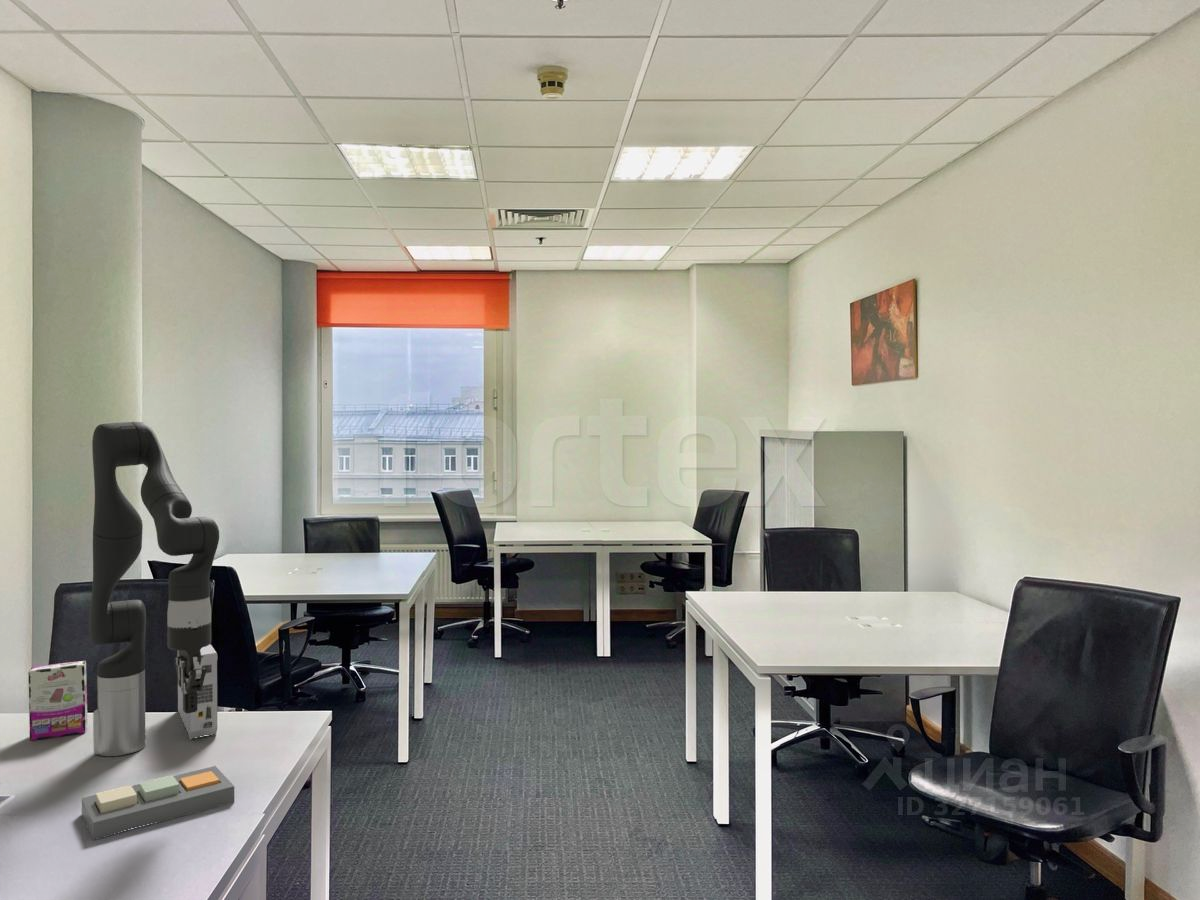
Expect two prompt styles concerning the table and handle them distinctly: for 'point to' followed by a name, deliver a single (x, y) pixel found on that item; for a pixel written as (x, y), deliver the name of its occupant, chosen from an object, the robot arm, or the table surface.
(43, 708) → the candy bar box
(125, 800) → the beige key
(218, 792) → the keypad
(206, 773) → the orange key
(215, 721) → the game console
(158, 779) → the sage key
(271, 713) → the table surface
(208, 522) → the robot arm
